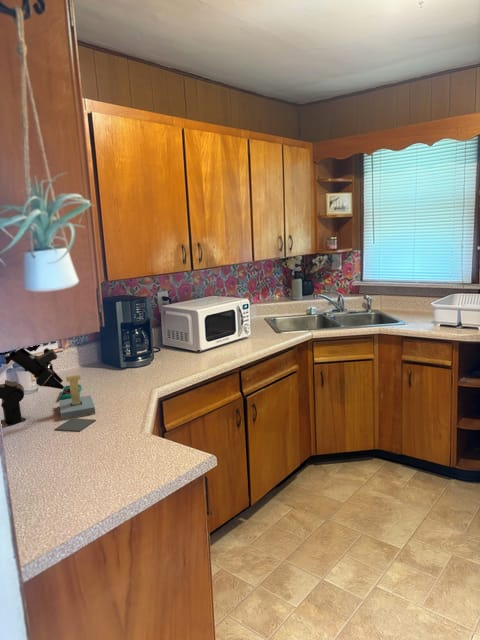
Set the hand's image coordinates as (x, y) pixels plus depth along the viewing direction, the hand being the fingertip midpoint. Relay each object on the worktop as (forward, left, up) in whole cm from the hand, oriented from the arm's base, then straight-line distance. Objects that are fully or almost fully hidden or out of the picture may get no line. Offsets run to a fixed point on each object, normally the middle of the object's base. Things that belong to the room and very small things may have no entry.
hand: (62, 384), depth 182 cm
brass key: (+2, +4, -11) cm, 12 cm away
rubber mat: (+16, -5, -11) cm, 20 cm away
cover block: (+2, +4, -11) cm, 12 cm away
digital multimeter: (-17, +13, -11) cm, 24 cm away
